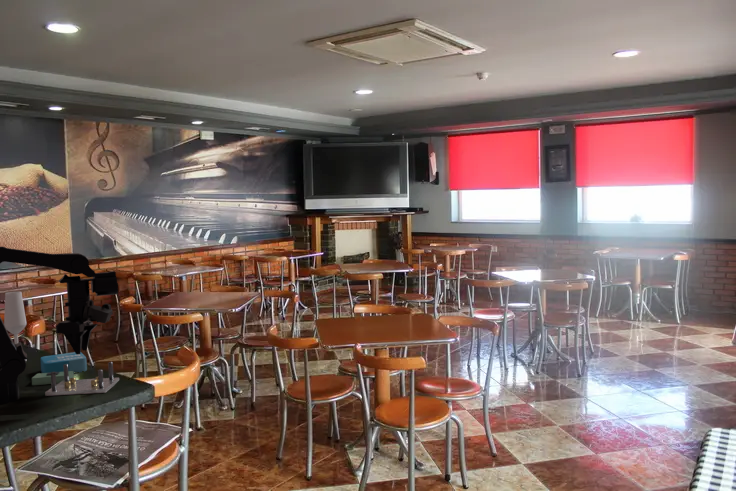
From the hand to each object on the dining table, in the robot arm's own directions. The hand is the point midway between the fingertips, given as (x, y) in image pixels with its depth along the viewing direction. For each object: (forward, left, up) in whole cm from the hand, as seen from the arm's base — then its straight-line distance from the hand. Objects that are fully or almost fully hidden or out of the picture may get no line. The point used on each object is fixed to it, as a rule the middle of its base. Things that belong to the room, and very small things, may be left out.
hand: (81, 352), depth 174 cm
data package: (+27, +17, -8) cm, 33 cm away
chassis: (0, 0, -10) cm, 10 cm away
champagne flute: (+38, +35, -10) cm, 53 cm away
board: (+10, +12, -11) cm, 19 cm away
